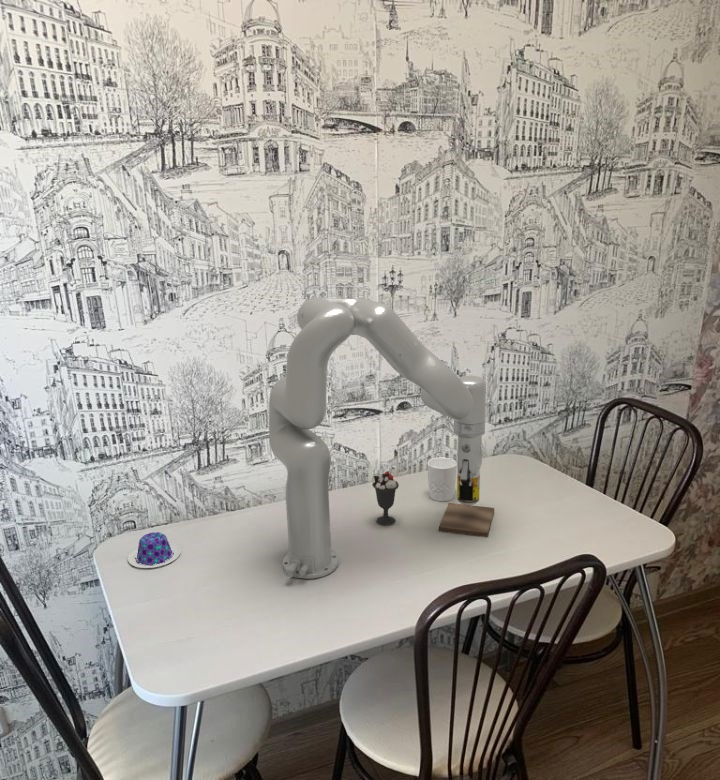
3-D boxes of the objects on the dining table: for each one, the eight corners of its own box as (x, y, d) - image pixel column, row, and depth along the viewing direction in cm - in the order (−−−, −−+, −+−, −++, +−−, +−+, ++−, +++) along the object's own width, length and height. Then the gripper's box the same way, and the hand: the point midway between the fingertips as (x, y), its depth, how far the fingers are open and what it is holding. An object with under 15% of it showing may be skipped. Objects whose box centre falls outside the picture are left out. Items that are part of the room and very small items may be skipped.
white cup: (428, 489, 192) (428, 456, 190) (456, 490, 191) (456, 457, 188) (426, 502, 185) (426, 467, 182) (456, 503, 184) (456, 468, 181)
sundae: (403, 523, 173) (403, 469, 169) (379, 529, 171) (378, 473, 166) (392, 513, 179) (392, 459, 175) (369, 518, 177) (368, 464, 172)
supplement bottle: (454, 504, 170) (455, 466, 168) (459, 495, 175) (460, 458, 173) (476, 507, 168) (477, 469, 166) (481, 498, 173) (482, 460, 171)
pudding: (140, 576, 152) (137, 555, 151) (120, 556, 161) (117, 536, 160) (189, 558, 160) (187, 538, 158) (168, 539, 169) (166, 520, 167)
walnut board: (487, 537, 165) (487, 532, 165) (438, 531, 169) (438, 526, 169) (494, 512, 178) (494, 507, 178) (448, 506, 182) (448, 502, 181)
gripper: (480, 440, 157) (478, 511, 163) (489, 416, 173) (487, 482, 178) (447, 437, 160) (447, 507, 165) (459, 414, 175) (458, 479, 180)
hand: (468, 493), depth 171 cm, fingers closed on supplement bottle, 5 cm apart
